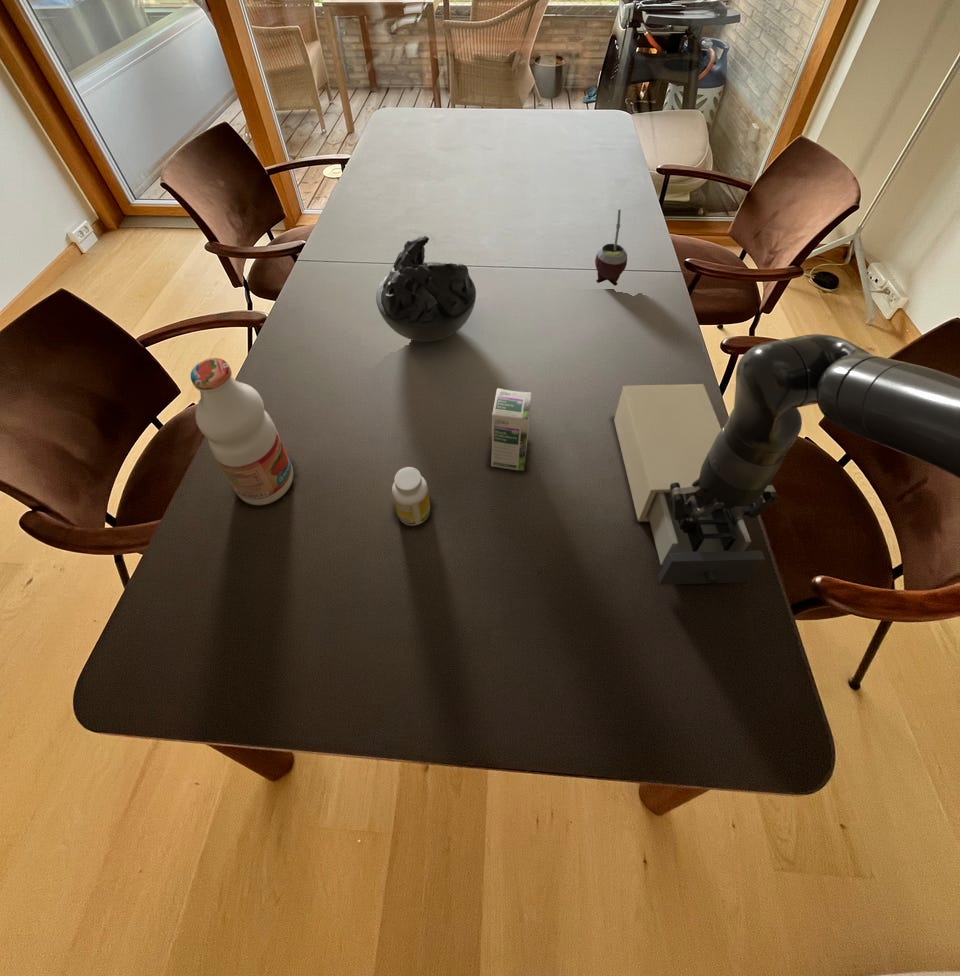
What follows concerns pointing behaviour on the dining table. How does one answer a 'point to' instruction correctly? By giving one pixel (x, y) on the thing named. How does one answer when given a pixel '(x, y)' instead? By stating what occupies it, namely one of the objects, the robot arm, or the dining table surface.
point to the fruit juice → (241, 434)
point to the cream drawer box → (663, 438)
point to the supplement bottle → (411, 496)
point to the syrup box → (510, 428)
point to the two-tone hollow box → (710, 556)
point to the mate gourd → (611, 260)
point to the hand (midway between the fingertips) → (703, 526)
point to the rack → (723, 528)
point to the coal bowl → (425, 295)
